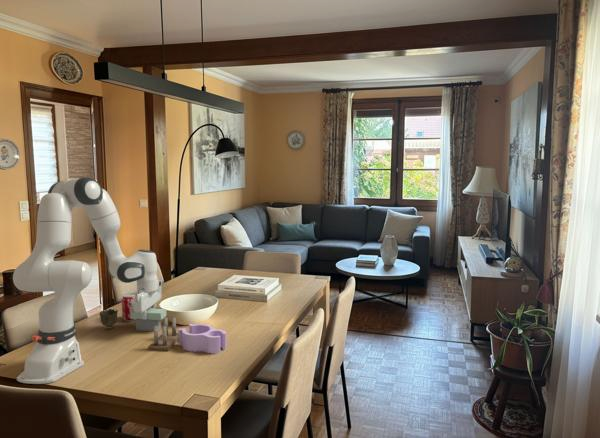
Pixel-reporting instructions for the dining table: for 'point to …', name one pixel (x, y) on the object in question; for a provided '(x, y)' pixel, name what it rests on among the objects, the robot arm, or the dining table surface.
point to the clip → (202, 338)
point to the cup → (108, 318)
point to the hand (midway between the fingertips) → (148, 316)
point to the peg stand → (164, 337)
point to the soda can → (127, 306)
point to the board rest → (147, 324)
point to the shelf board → (150, 314)
